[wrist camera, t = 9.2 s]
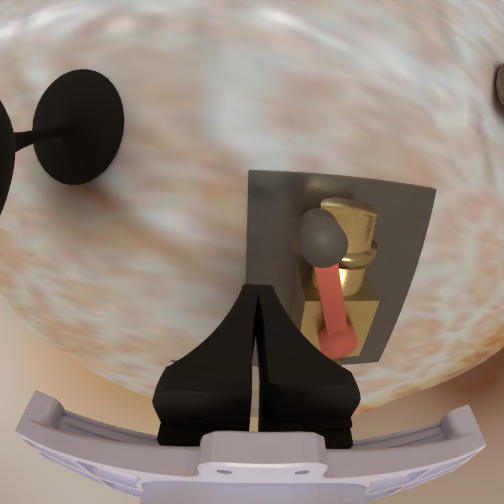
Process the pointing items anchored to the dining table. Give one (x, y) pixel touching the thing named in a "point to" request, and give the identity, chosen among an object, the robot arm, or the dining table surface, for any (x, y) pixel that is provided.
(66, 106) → the wine glass
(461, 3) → the dining table surface
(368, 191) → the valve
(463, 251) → the dining table surface
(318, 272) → the lever
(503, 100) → the pipe fitting
